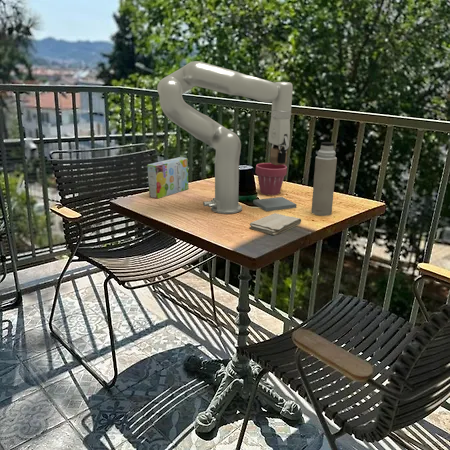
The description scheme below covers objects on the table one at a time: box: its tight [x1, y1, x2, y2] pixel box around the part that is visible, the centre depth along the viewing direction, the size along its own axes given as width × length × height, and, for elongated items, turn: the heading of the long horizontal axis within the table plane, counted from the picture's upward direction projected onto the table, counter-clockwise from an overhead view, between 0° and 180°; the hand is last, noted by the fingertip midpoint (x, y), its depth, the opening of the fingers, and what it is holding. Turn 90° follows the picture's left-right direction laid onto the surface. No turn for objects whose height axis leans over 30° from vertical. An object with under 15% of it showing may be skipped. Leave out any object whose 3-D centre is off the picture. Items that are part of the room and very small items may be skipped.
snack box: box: [146, 156, 190, 200], centre depth 197 cm, size 21×6×15 cm, turn 144°
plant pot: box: [255, 162, 288, 196], centre depth 199 cm, size 14×14×13 cm
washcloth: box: [249, 212, 302, 236], centre depth 158 cm, size 12×18×3 cm, turn 141°
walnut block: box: [269, 147, 289, 166], centre depth 174 cm, size 5×5×6 cm
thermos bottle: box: [311, 141, 338, 217], centre depth 169 cm, size 8×8×28 cm
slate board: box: [252, 196, 297, 212], centre depth 182 cm, size 14×12×2 cm
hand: (278, 161), depth 174 cm, fingers closed on walnut block, 5 cm apart
